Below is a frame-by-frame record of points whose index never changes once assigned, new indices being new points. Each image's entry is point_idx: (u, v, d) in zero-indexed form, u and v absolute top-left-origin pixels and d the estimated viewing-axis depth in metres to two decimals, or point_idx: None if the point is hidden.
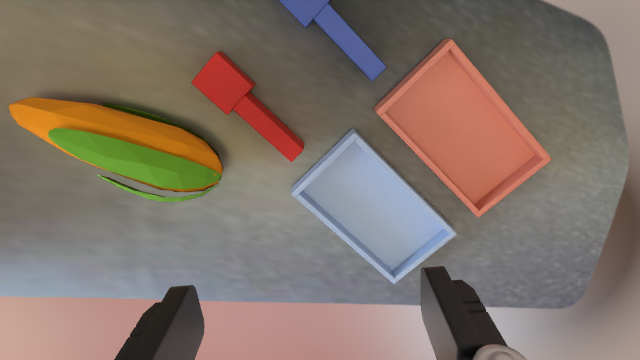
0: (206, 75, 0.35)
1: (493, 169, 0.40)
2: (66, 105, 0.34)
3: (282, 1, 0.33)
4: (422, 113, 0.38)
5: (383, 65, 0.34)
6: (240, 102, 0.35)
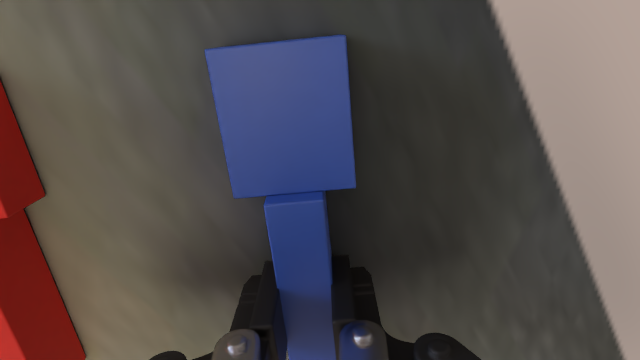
0: None
1: None
2: None
3: (219, 104, 0.11)
4: None
5: None
6: None
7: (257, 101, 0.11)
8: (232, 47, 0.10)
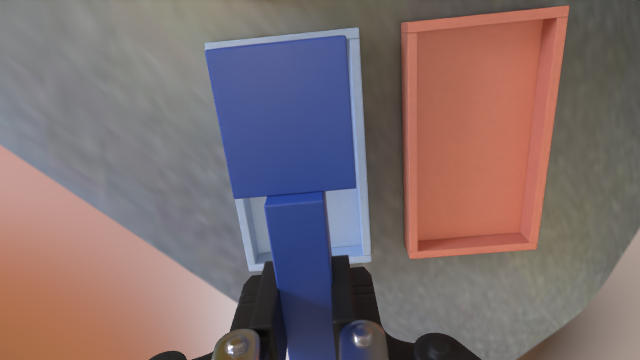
0: None
1: (466, 215, 0.28)
2: None
3: (219, 105, 0.11)
4: (451, 79, 0.24)
5: None
6: None
7: (257, 102, 0.11)
8: (232, 48, 0.10)
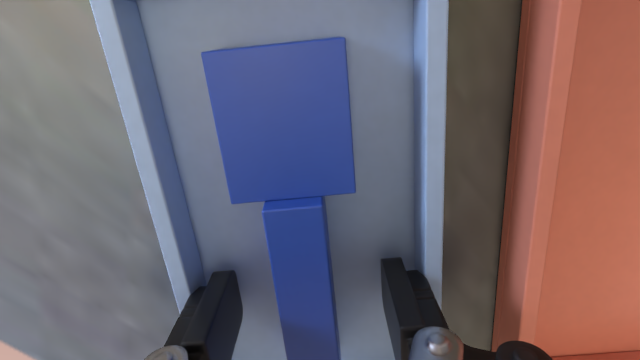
0: None
1: (613, 317, 0.15)
2: None
3: (216, 108, 0.10)
4: (625, 62, 0.12)
5: None
6: None
7: (255, 105, 0.10)
8: (229, 50, 0.10)
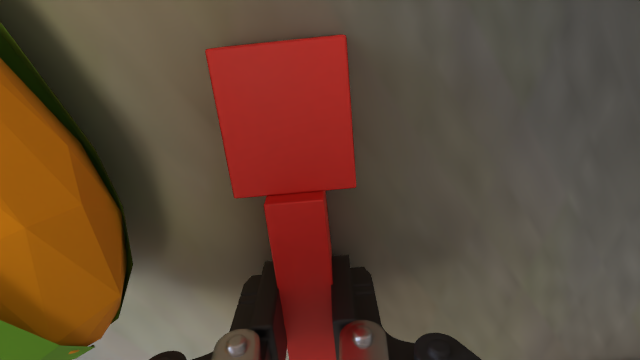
0: (264, 68, 0.10)
1: None
2: None
3: None
4: None
5: None
6: (297, 206, 0.11)
7: None
8: None
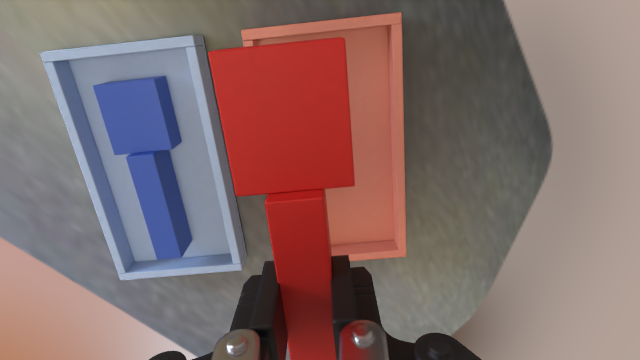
0: (266, 70, 0.10)
1: (338, 222, 0.28)
2: None
3: (102, 110, 0.23)
4: None
5: (179, 254, 0.26)
6: (297, 204, 0.11)
7: (119, 108, 0.23)
8: (104, 84, 0.22)
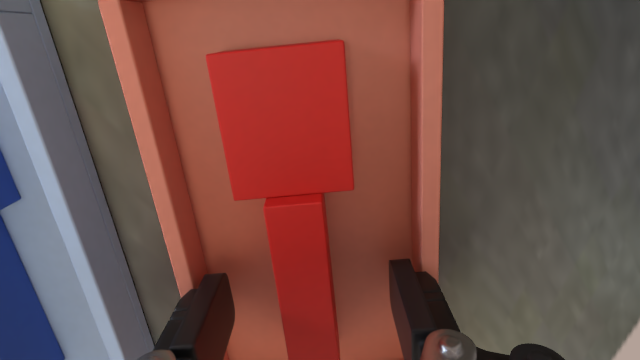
0: (264, 73, 0.10)
1: None
2: None
3: None
4: None
5: None
6: (296, 209, 0.11)
7: None
8: None
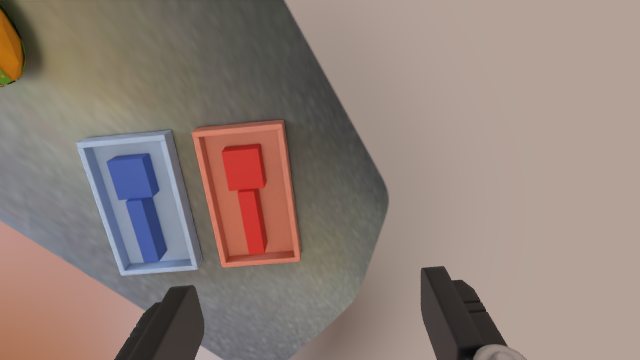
0: (237, 156, 0.38)
1: None
2: None
3: (111, 175, 0.39)
4: None
5: (157, 259, 0.42)
6: (246, 193, 0.39)
7: (121, 174, 0.39)
8: (113, 161, 0.39)
